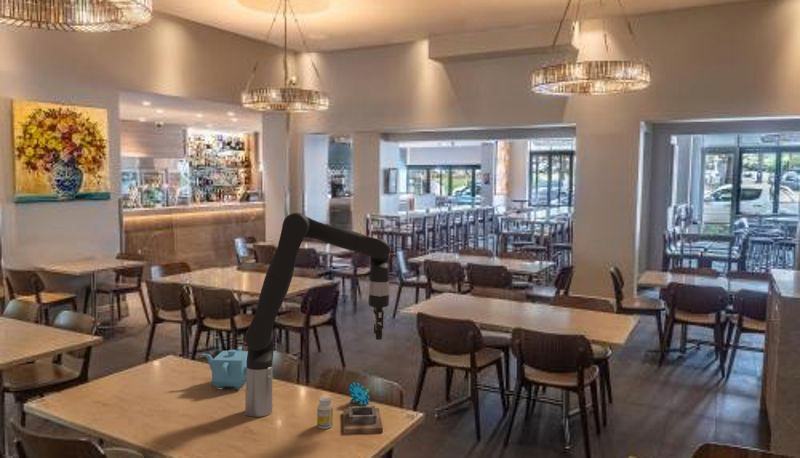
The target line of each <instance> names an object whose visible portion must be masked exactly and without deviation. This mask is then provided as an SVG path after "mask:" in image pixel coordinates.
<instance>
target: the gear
mask: <svg viewBox="0 0 800 458" xmlns="http://www.w3.org/2000/svg"><path fill="white" fill-rule="evenodd" d="M360 385H361V383H360V382H357V383H356V382H352V383H351V384H350V385H349V386H348V388H349V389H348V390H347V391H348V393H350V394H349V395H350V396H349V397H350V398H351V399H350V400H349V401H350V403H353V402H354V403H357V402H358V401H359V402H358V405H359V406H362V405H363V406H367V405H368V404H369V403H370V400H369V399H370V395H369V392H370V389H368V388H367V389H366V390H364V389H365V387H364V385H361V386H360Z"/></svg>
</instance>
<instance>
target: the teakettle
mask: <svg viewBox="0 0 800 458" xmlns="http://www.w3.org/2000/svg"><path fill="white" fill-rule="evenodd" d="M242 349H243V346H242V345H239V346H238V347H237V349H229V350H222V351H221V352H219V354H217V355H216V356H215V357H214V358H213V357H212V355H211V354H209V353H202V354H201V355H202V356H204V357H205V358H206V359H207V361H208V365H209V369H210V370H211V387H216V389H217V388H223V389H225V387H229V388H235V389H234V390H236V389H238V390H241V389H242V387H243V386H244V385H245V384H246V383H247V369H246V361H247V354H248V350H247V351H246V350H242ZM245 382H246V383H245ZM240 388H241V389H240Z"/></svg>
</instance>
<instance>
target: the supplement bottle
mask: <svg viewBox="0 0 800 458" xmlns="http://www.w3.org/2000/svg"><path fill="white" fill-rule="evenodd" d="M316 411H317V413H316V416H317V419H316V420H317V421H316V422H317V423H316V425H317V428H319V429H322V430H323V429H324V430H325V429H327V430H328V429H330V428H332V427H333V420H334V419H333V417H334V406H333V404H332V398H331V397H329V396H321V397H319V404H318V405H317V408H316Z"/></svg>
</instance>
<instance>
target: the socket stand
mask: <svg viewBox="0 0 800 458" xmlns="http://www.w3.org/2000/svg"><path fill="white" fill-rule="evenodd" d="M342 415H343V433H344V434H343V435H347V434H349V435H351V434H382V433H383V432H384V431H383V429H384V428H383V423H382V417H381V413H380V408H379V407H376V406H375V405H368V406H367V405H366V406H364V405H363V406H362V405H359V406H358V405H357V406H353V405H352V406H348V408H343V411H342Z"/></svg>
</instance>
